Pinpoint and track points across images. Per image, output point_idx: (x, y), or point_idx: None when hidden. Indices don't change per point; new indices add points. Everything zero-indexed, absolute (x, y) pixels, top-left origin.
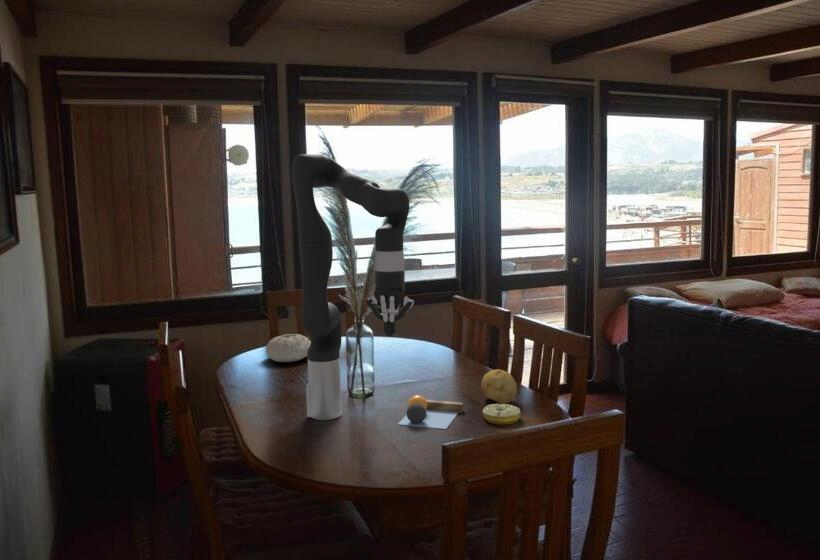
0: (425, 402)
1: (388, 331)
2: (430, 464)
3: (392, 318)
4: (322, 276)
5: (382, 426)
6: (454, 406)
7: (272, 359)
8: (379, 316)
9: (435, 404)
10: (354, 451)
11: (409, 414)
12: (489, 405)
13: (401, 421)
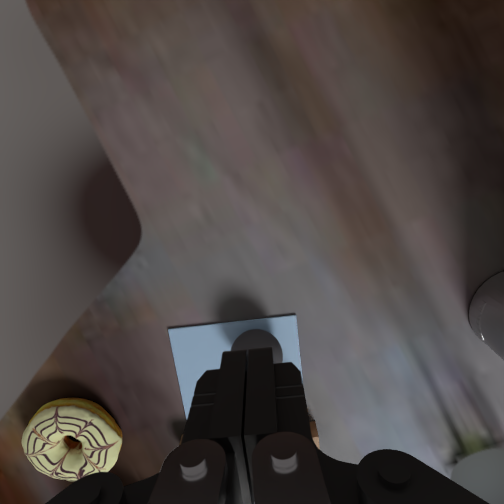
0: None
1: (251, 369)
2: (95, 108)
3: (179, 481)
4: None
5: (328, 291)
6: None
7: None
8: (382, 476)
9: None
10: (320, 107)
11: (265, 335)
12: (101, 457)
13: (294, 334)
